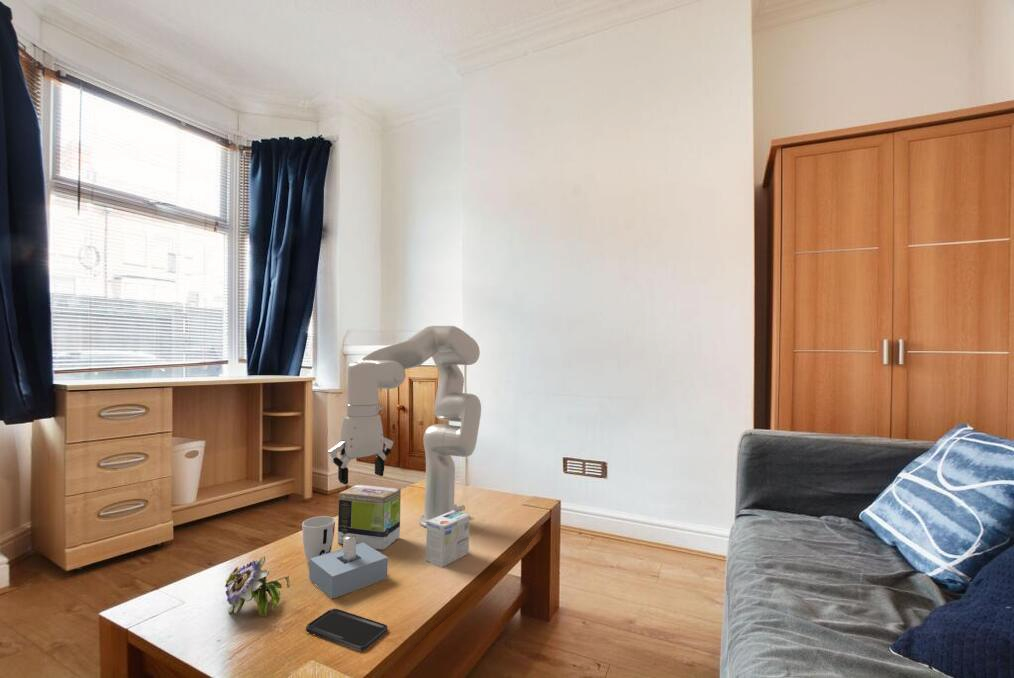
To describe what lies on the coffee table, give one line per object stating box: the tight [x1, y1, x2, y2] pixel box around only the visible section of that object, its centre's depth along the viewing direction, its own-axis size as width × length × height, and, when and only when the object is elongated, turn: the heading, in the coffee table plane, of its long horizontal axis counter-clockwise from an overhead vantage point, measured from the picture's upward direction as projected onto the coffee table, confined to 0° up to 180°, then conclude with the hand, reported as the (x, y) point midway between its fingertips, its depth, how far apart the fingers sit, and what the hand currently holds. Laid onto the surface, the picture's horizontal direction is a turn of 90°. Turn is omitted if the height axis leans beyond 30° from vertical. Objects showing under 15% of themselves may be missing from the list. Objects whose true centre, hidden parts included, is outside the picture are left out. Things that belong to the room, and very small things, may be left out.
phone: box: [305, 608, 388, 652], centre depth 91 cm, size 8×1×15 cm
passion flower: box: [224, 555, 291, 618], centre depth 99 cm, size 11×11×12 cm
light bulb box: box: [425, 510, 471, 568], centre depth 124 cm, size 11×7×11 cm, turn 145°
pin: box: [342, 535, 356, 564], centre depth 111 cm, size 3×3×10 cm
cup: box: [301, 515, 336, 564], centre depth 121 cm, size 8×8×10 cm
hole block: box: [308, 543, 389, 600], centre depth 111 cm, size 14×12×5 cm
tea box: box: [337, 484, 402, 551], centre depth 134 cm, size 15×10×15 cm
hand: (361, 479), depth 115 cm, fingers open, 9 cm apart
